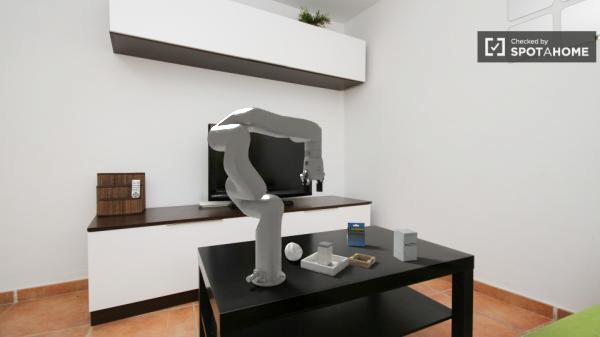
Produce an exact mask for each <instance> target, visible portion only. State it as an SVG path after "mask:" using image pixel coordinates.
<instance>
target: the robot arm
mask: <svg viewBox="0 0 600 337" xmlns="http://www.w3.org/2000/svg"><path fill="white" fill-rule="evenodd" d="M322 131H323V130H322V128H321V127H320V125H319V124H318V123H316V122H315V121H312V120H309V119H306V118H305V119H304V118H299V117H294V116H287V115H281V114H277V113H275V112H271V111H269V110H266V109H263V108H260V107H248V108H243V109H238V110H236V111H234V112H232V113H231V114H229V115H228V116H227V117H225V118H224V119H223V120H221V121H220V122H219V123H217V124H216V125H214V126H213V127H212V128H210V130H209V132H208V133H207V139H206V140H207V144H208V145H209V147H210V148H211V149H212V150H214V151H217V152H224V154H223V155H224V156H223V168H224V171H225V173H226V175H227V176H228V177H227V179H226V181H225V184H224V185H225V186H224V187H225V191H226V194H227V196H228V197H229V199H230V200H231V201H232V202H233V203H234V204H235V205H236V207H237V208H238V209H239V210H240V211H241V212H242V213H243V214H244V215H246V216H247V217H250V218H254V219H258V224H257V225H256V228H255V231H254V232H255V235H254V236H255V239H254V240H255V268H254V269H253V273H252V274H249V275H248V276H246V278H245V280H246V282H247V283H250V282H251V283H252V284H254V285H256V286H259V287H273V286H274V287H275V286H278V285H280V284H282V283H284V282H285V280H286V273H284V272H283V271H282V226H283V225H282V224H283V223H282V222H283V216H284V212H285V204H284V202H283V199H282V198H281V197H279V196H278V195H275V194H270V193H267V189H268V188H267V184H266V183H265V181H264V179H263V178H262V177H261V175H260V174H259V173H258V171H257V170H256V169H255V167H254V166H253V165H252V163H251V160H250V158H249V148H250V144H251V134H250V133H255V134H256V133H257V134H261V135H266V136H270V137H273V138H278V139H279V138H281V139H288V138H289V139H290V141H292V142H293V143H304V159H303V167H302V168H303V170H302V171H303V172H302V173H301V174H300V180H301V184H302V185H303V187H302V188H303V190H302V191H303V194H304V195H310V194H311V185H310V183H311V181H316V183H315V192H318V193H322V192H323V189H324V188H323V187H324V186H323V184H324V180H325V176H326V173H325V171H324V161H323V157H322V155H323V154H322V153H323V151H322V149H323V147H322V146H323V144H322V141H323V140H322V138H323V136H322V135H323V132H322Z"/></svg>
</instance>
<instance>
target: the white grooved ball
mask: <svg viewBox="0 0 600 337" xmlns="http://www.w3.org/2000/svg"><path fill="white" fill-rule="evenodd" d="M284 254H285V258H286V259H288V260H289V261H292V262H296V261H298V260H299V259H301V257H302V255H303V249H302V247H301V246H300V245H299V244H298V243H295V242H290V243H287V245H285V249H284Z"/></svg>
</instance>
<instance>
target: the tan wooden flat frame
mask: <svg viewBox="0 0 600 337" xmlns="http://www.w3.org/2000/svg"><path fill="white" fill-rule="evenodd" d="M348 258H349V265H352V266H358V267H362V268H366V269H369V268H370V267H372V265H374V264H375V263H376V261H377V260H376V258H377V256H372V255H368V254H363V253H359V252H356V253H355V254H353V255H352V256H350V257H348Z"/></svg>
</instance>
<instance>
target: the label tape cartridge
mask: <svg viewBox="0 0 600 337" xmlns="http://www.w3.org/2000/svg"><path fill="white" fill-rule="evenodd" d="M365 224H366V223H365V222H347V228H346V244H347V247H366V230H365V229H366V227H365V226H366V225H365Z"/></svg>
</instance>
